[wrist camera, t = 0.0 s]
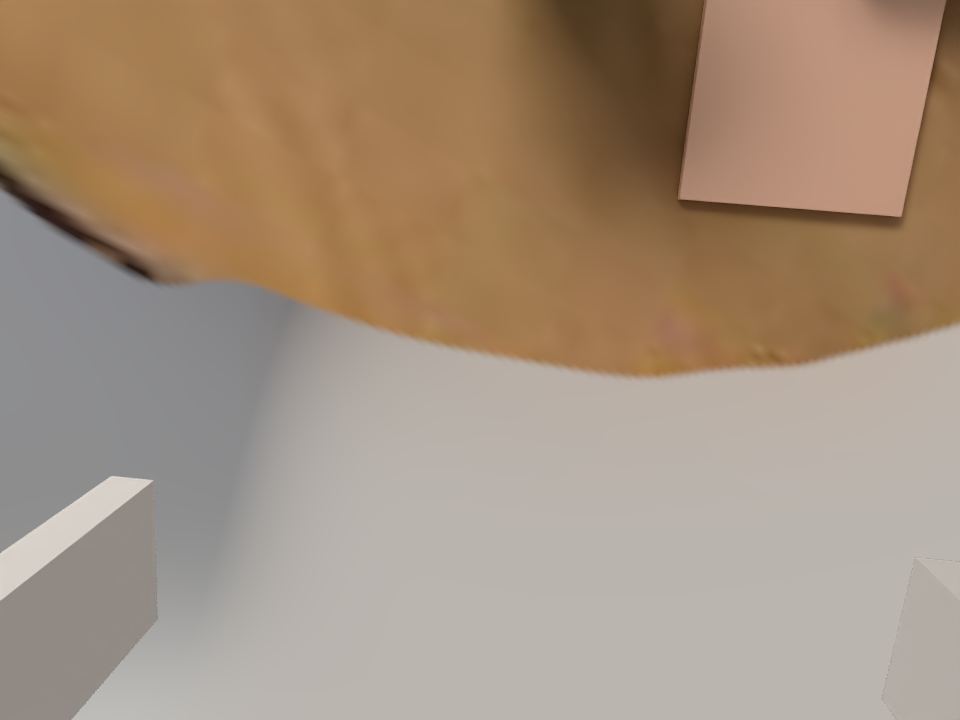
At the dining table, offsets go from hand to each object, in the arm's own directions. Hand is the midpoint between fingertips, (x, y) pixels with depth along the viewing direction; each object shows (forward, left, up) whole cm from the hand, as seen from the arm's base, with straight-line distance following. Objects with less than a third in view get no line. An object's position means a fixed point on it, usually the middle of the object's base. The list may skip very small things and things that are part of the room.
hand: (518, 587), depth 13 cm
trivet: (-12, +13, -28) cm, 33 cm away
